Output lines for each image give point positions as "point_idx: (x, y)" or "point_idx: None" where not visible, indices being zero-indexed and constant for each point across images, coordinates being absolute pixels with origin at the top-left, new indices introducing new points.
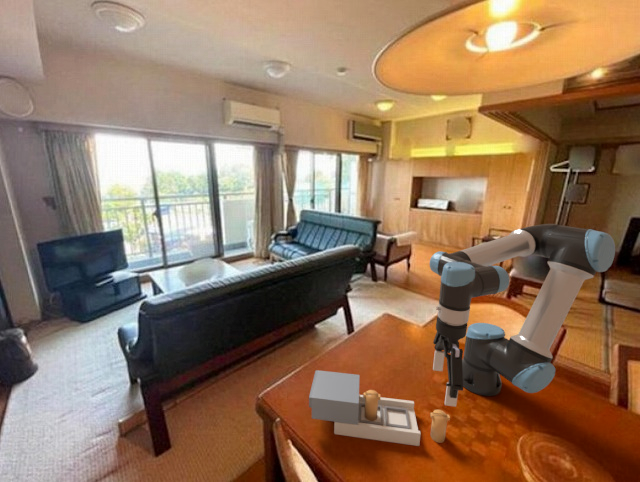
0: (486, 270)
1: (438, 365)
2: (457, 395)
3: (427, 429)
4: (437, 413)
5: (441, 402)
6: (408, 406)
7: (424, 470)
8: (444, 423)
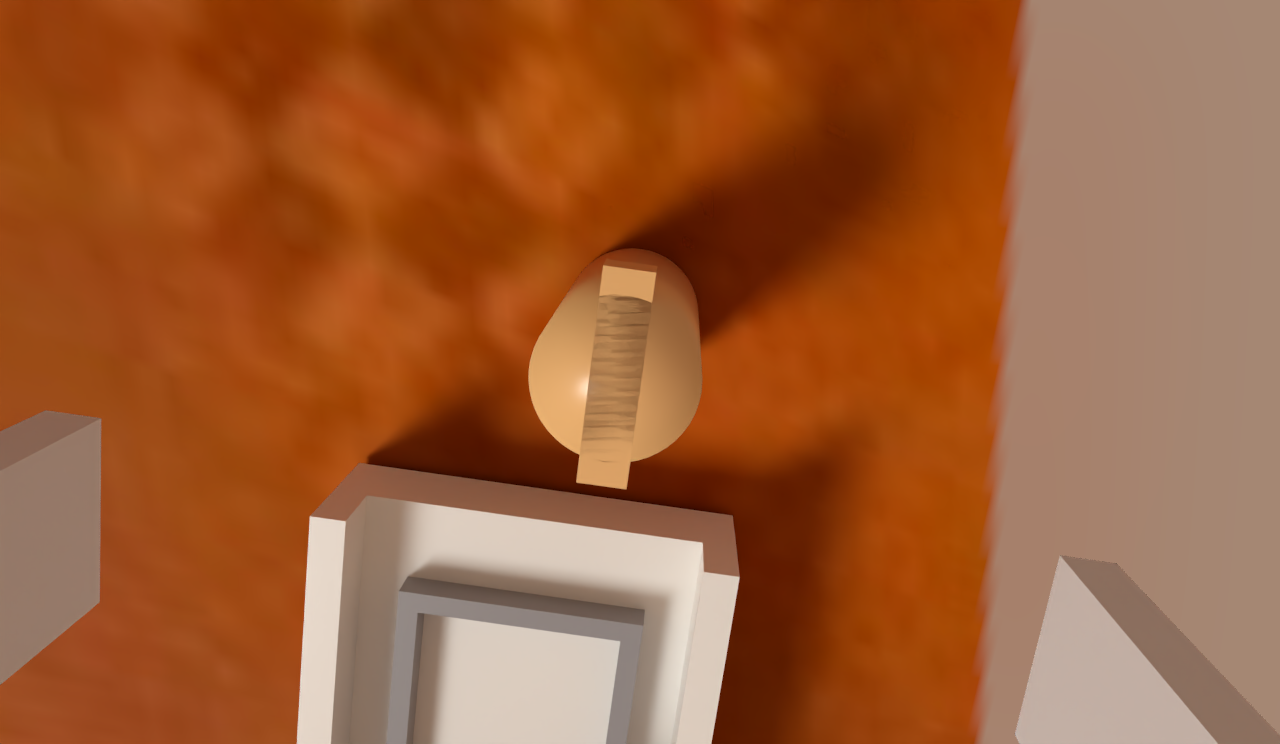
0: None
1: (13, 574)
2: (1253, 713)
3: None
4: (592, 404)
5: (180, 93)
6: (357, 557)
7: (943, 537)
8: (696, 344)
